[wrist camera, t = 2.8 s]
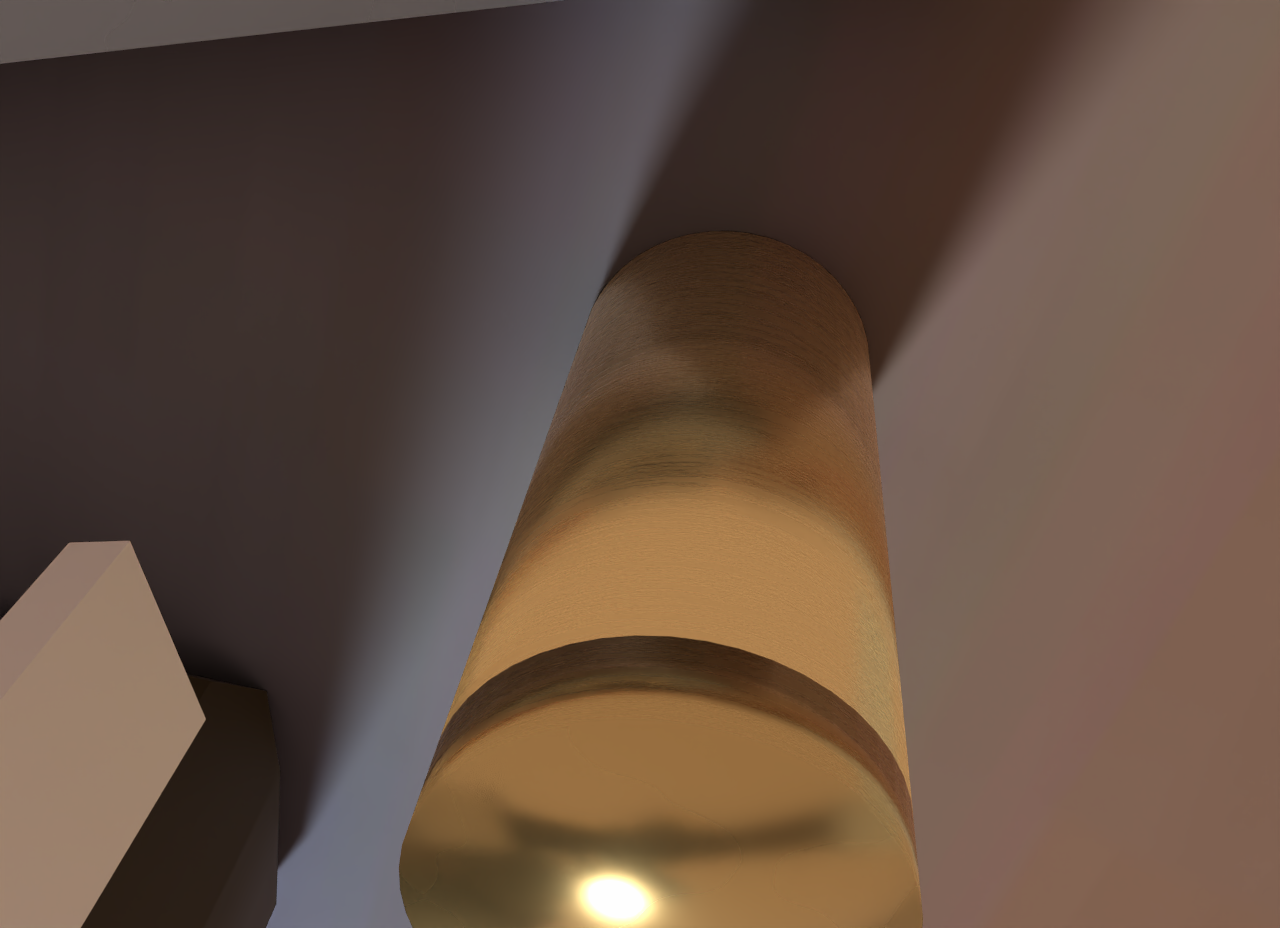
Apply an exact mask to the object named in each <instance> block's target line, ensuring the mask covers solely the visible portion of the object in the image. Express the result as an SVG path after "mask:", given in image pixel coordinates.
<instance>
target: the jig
mask: <svg viewBox="0 0 1280 928" xmlns="http://www.w3.org/2000/svg"><path fill="white" fill-rule="evenodd" d="M554 1H563V0H0V64H2V63H11V62H20V61H29V60H38V59H47V58H56V57H65V56H73V55H82V54H91V53H100V52H109V51H118V50H127V49H136V48H145V47H154V46H162V45H171V44H180V43H189V42H198V41H207V40H216V39H225V38H234V37H243V36H252V35H260V34H269V33H278V32H287V31H296V30H305V29H314V28H323V27H332V26H341V25H349V24H358V23H367V22H376V21H385V20H394V19H403V18H412V17H421V16H430V15H438V14H447V13H456V12H465V11H474V10H483V9H492V8H501V7H510V6H519V5H527V4H536V3H545V2H554Z"/></svg>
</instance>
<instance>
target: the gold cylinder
mask: <svg viewBox="0 0 1280 928" xmlns="http://www.w3.org/2000/svg"><path fill="white" fill-rule="evenodd" d="M399 876H400V891H401V895H402V899H403V903H404V907H405V911H406V913H407V916H408V918H409V920H410V923H411V925H412V927H413V928H922V924H923V914H922V904H921V894H920V883H919V873H918V862H917V852H916V841H915V831H914V820H913V810H912V799H911V789H910V779H909V768H908V758H907V747H906V737H905V726H904V716H903V705H902V695H901V684H900V674H899V663H898V653H897V643H896V632H895V622H894V611H893V601H892V590H891V580H890V569H889V559H888V548H887V538H886V528H885V517H884V507H883V496H882V486H881V475H880V465H879V454H878V444H877V433H876V423H875V412H874V402H873V392H872V381H871V371H870V360H869V351H868V341H867V338H866V334H865V330H864V326H863V323H862V321H861V318H860V316H859V314H858V311H857V309H856V307H855V305H854V304H853V302H852V301H851V299H850V297H849V296H848V294H847V292H846V291H845V290H844V289H843V287H842V286H841V285H840V284H839V283H838V281H837V280H836V279H835V278H834V277H833V276H832V275H831V274H830V273H829V272H828V271H827V270H826V269H824V268H823V267H822V266H821V265H820V264H818V263H817V262H816V261H814V260H813V259H811V258H810V257H809V256H807V255H806V254H804V253H802V252H800V251H798V250H796V249H795V248H793V247H791V246H789V245H787V244H784V243H781V242H779V241H776V240H773V239H771V238H767V237H763V236H759V235H755V234H750V233H742V232H733V231H710V232H702V233H695V234H689V235H686V236H682V237H678V238H675V239H671V240H669V241H666V242H664V243H661V244H659V245H657V246H654V247H652V248H651V249H649V250H647V251H645V252H644V253H642V254H640V255H639V256H637V257H636V258H634V259H633V260H632V261H630V262H629V263H628V264H627V265H625V266H624V267H623V268H622V269H621V270H620V271H619V272H618V273H617V274H616V275H615V276H614V277H613V278H612V279H611V280H610V281H609V283H608V284H607V285H606V287H605V288H604V289H603V291H602V292H601V293H600V295H599V297H598V299H597V301H596V302H595V304H594V306H593V308H592V310H591V313H590V315H589V318H588V321H587V324H586V327H585V330H584V332H583V335H582V338H581V341H580V344H579V347H578V349H577V352H576V355H575V358H574V361H573V364H572V366H571V369H570V372H569V375H568V378H567V380H566V383H565V386H564V389H563V392H562V395H561V397H560V400H559V403H558V406H557V409H556V412H555V414H554V417H553V420H552V423H551V426H550V429H549V431H548V434H547V437H546V440H545V443H544V445H543V448H542V451H541V454H540V457H539V460H538V462H537V465H536V468H535V471H534V474H533V477H532V479H531V482H530V485H529V488H528V491H527V494H526V496H525V499H524V502H523V505H522V508H521V511H520V513H519V516H518V519H517V522H516V525H515V527H514V530H513V533H512V536H511V539H510V542H509V544H508V547H507V550H506V553H505V556H504V559H503V561H502V564H501V567H500V570H499V573H498V576H497V578H496V581H495V584H494V587H493V590H492V593H491V595H490V598H489V601H488V604H487V607H486V609H485V612H484V615H483V618H482V621H481V624H480V626H479V629H478V632H477V635H476V638H475V641H474V643H473V646H472V649H471V652H470V655H469V658H468V660H467V663H466V666H465V669H464V672H463V675H462V677H461V680H460V683H459V686H458V689H457V691H456V694H455V697H454V700H453V703H452V706H451V708H450V711H449V714H448V717H447V720H446V723H445V725H444V728H443V731H442V734H441V737H440V740H439V742H438V745H437V748H436V751H435V754H434V757H433V759H432V762H431V765H430V768H429V771H428V773H427V776H426V779H425V782H424V785H423V788H422V790H421V793H420V796H419V799H418V802H417V805H416V807H415V810H414V813H413V816H412V819H411V822H410V824H409V827H408V830H407V833H406V836H405V839H404V841H403V844H402V850H401V857H400V864H399Z"/></svg>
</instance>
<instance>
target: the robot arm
mask: <svg viewBox="0 0 1280 928" xmlns="http://www.w3.org/2000/svg"><path fill="white" fill-rule="evenodd" d="M205 720H206V718H205V716H204V714H203V711H202V709H201V707H200V704H199V702H198V699H197V697H196V695H195V692H194V690H193V688H192V685H191V683H190V681H189V678H188V676H187V674H186V671H185V669H184V667H183V664H182V662H181V660H180V657H179V655H178V653H177V650H176V648H175V645H174V643H173V641H172V638H171V636H170V634H169V631H168V629H167V627H166V624H165V622H164V620H163V617H162V615H161V613H160V610H159V608H158V606H157V603H156V601H155V599H154V596H153V594H152V592H151V589H150V587H149V584H148V582H147V580H146V577H145V575H144V573H143V570H142V568H141V566H140V563H139V561H138V559H137V556H136V554H135V552H134V549H133V547H132V545H131V542H130V541H105V542H73V543H68V544H67V546H66V547H65V548H64V549H63V550H62V551H61V552H60V553H59V555H58V556H57V557H56V558H55V559H54V560H53V561H52V562H51V564H50V565H49V566H48V567H47V568H46V569H45V570H44V572H43V573H42V574H41V575H40V576H39V577H38V578H37V579H36V581H35V582H34V583H33V584H32V585H31V586H30V587H29V589H28V590H27V591H26V592H25V593H24V594H23V595H22V596H21V598H20V599H19V600H18V601H17V602H16V603H15V604H14V606H13V607H12V608H11V609H10V610H9V611H8V612H7V613H6V615H5V616H4V617H3V618H2V619H1V620H0V928H81V927H82V925H83V923H84V922H85V920H86V918H87V917H88V915H89V913H90V912H91V910H92V908H93V907H94V905H95V903H96V902H97V900H98V898H99V897H100V895H101V893H102V892H103V890H104V888H105V887H106V885H107V883H108V882H109V880H110V878H111V877H112V875H113V873H114V872H115V870H116V868H117V867H118V865H119V863H120V862H121V860H122V858H123V857H124V855H125V853H126V852H127V850H128V848H129V847H130V845H131V843H132V842H133V840H134V838H135V837H136V835H137V833H138V832H139V830H140V828H141V827H142V825H143V823H144V822H145V820H146V818H147V817H148V815H149V813H150V812H151V810H152V808H153V807H154V805H155V803H156V802H157V800H158V798H159V797H160V795H161V793H162V792H163V790H164V788H165V787H166V785H167V783H168V782H169V780H170V778H171V777H172V775H173V773H174V772H175V770H176V768H177V767H178V765H179V763H180V762H181V760H182V758H183V757H184V755H185V753H186V752H187V750H188V748H189V747H190V745H191V743H192V742H193V740H194V738H195V737H196V735H197V733H198V732H199V730H200V728H201V727H202V725H203V723H204V722H205Z"/></svg>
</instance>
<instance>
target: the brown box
mask: <svg viewBox="0 0 1280 928" xmlns="http://www.w3.org/2000/svg"><path fill="white" fill-rule="evenodd" d="M186 674H187V673H186ZM187 676H188V678H189V681H190V683H191V685H192V688H193V690H194V692H195V695H196V697H197V699H198V702H199V704H200V707H201V709H202V711H203V714H204V716H205V718H206V720H205V722H204V723H203V725H202V727H201V728H200V730H199V732H198V733H197V735H196V737H195V738H194V740H193V742H192V743H191V745H190V747H189V748H188V750H187V752H186V753H185V755H184V757H183V758H182V760H181V762H180V763H179V765H178V767H177V768H176V770H175V772H174V773H173V775H172V777H171V778H170V780H169V782H168V783H167V785H166V787H165V788H164V790H163V792H162V793H161V795H160V797H159V798H158V800H157V802H156V803H155V805H154V807H153V808H152V810H151V812H150V813H149V815H148V817H147V818H146V820H145V822H144V823H143V825H142V827H141V828H140V830H139V832H138V833H137V835H136V837H135V838H134V840H133V842H132V843H131V845H130V847H129V848H128V850H127V852H126V853H125V855H124V857H123V858H122V860H121V862H120V863H119V865H118V867H117V868H116V870H115V872H114V873H113V875H112V877H111V878H110V880H109V882H108V883H107V885H106V887H105V888H104V890H103V892H102V893H101V895H100V897H99V898H98V900H97V902H96V903H95V905H94V907H93V908H92V910H91V912H90V913H89V915H88V917H87V918H86V920H85V922H84V923H83V925H82V927H81V928H266V926H267V924H268V921H269V919H270V917H271V915H272V912H273V910H274V908H275V905H276V896H277V864H278V832H279V800H280V767H279V761H278V755H277V749H276V743H275V737H274V731H273V726H272V720H271V714H270V708H269V702H268V696H267V691H264V690H260V689H255V688H250V687H246V686H241V685H237V684H232V683H228V682H223V681H219V680H214V679H209V678H205V677H200V676H196V675H191V674H187Z"/></svg>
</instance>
